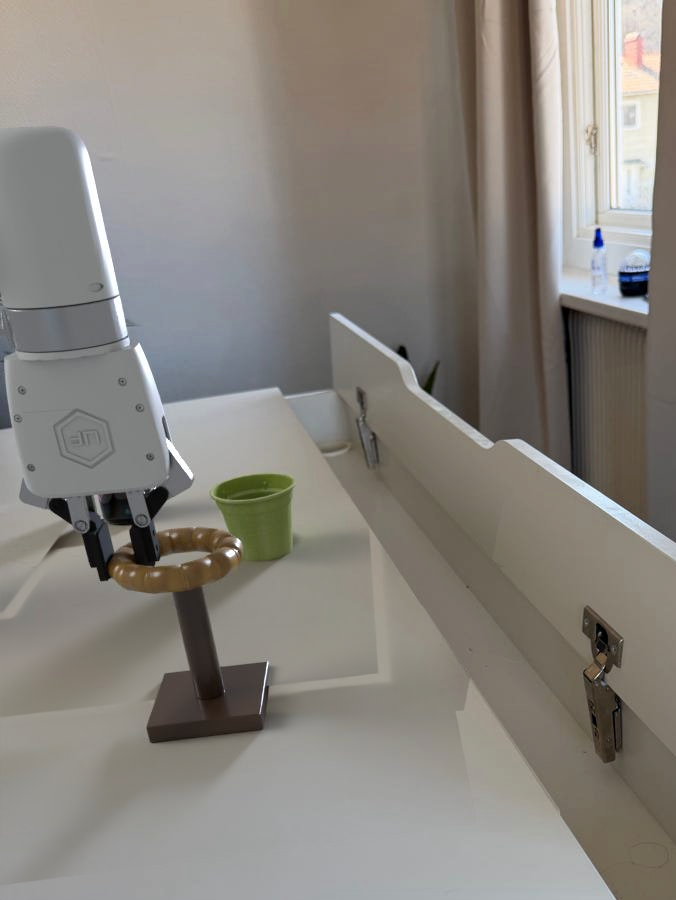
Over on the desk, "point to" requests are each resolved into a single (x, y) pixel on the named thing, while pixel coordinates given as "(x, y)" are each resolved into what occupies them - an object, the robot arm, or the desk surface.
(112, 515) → the supplement container
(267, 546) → the plant pot
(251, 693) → the peg stand
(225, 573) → the ring
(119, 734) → the desk surface
